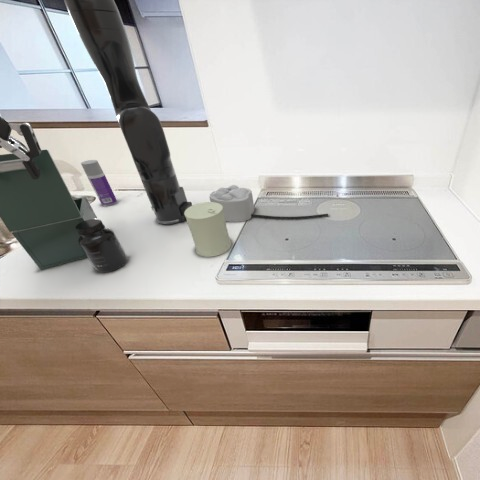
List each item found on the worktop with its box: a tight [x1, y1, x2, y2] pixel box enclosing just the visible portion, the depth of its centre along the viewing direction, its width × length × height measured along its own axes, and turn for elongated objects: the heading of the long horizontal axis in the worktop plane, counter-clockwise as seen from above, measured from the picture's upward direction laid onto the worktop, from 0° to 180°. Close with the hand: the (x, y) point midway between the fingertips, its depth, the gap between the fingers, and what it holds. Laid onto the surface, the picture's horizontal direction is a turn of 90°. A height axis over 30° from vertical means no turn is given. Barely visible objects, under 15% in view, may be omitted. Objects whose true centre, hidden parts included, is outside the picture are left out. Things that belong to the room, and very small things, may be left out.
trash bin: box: [11, 196, 99, 271], centre depth 69 cm, size 15×13×11 cm
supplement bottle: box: [75, 218, 128, 273], centre depth 63 cm, size 7×7×12 cm
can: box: [184, 201, 232, 258], centre depth 69 cm, size 9×9×12 cm
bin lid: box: [0, 149, 82, 233], centre depth 56 cm, size 16×13×5 cm
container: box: [80, 159, 118, 207], centre depth 90 cm, size 5×5×15 cm
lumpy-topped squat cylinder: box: [208, 184, 256, 223], centre depth 86 cm, size 10×13×9 cm
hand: (14, 180), depth 53 cm, fingers closed on bin lid, 6 cm apart
